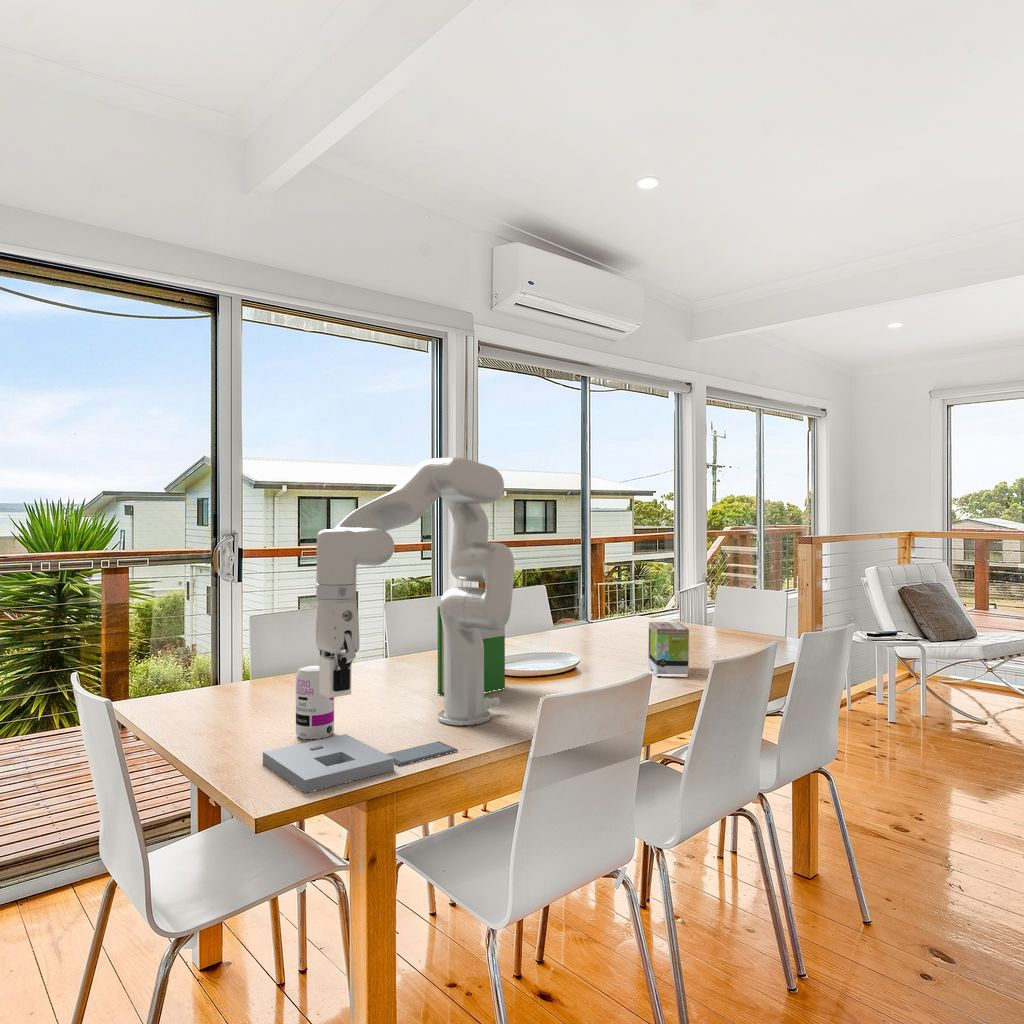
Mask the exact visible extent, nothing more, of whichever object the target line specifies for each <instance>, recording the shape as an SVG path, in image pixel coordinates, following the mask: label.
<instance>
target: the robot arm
mask: <svg viewBox="0 0 1024 1024" xmlns="http://www.w3.org/2000/svg"><path fill="white" fill-rule="evenodd" d="M504 489H505V481H504V477H503V476H502V474H501V473H500V471H499V470H498V469H497V468H495V467H493V466H490V465H487V464H484V463H481V462H477V461H475V460H471V459H468V458H463V457H458V456H456V457H453V456H452V457H437V458H436V457H435V458H434V457H433V458H429V459H424V460H423V461H421V462H419V463H418V464H417V465H416V466H415V467H414V468H413V469H412V470H411V471H410V472H409V473H408V474H407V475H405V476H404V478H403V479H402V480H401V481H400V482H399V483H397V485H395V487H393V488H392V490H390V491H389V492H387V493H385V494H383V495H381V496H379V497H377V498H376V499H373V500H371V501H369V502H368V503H366V504H364V505H362V506H360V507H359V508H357V509H355V510H353V511H352V512H351V513H350V514H348V515H346V516H345V518H344V519H343V520H341V521H340V522H339V523H338V524H337V525H336V527H335V528H331V529H329V528H328V529H322V530H320V531H319V532H318V533H317V536H316V582H315V583H316V586H315V588H316V590H315V591H316V593H315V594H316V598H315V601H316V602H317V611H316V620H315V622H316V624H315V644H316V647H317V648H318V651H319V655H320V657H325V656H333V655H334V658H335V668H336V670H333V690H334V691H336V692H337V691H343V690H349V689H350V669H351V670H352V663H353V661H354V659H355V658H356V657H357V656H356V655H357V654H356V653H358V652H359V650H360V623H359V621H360V620H359V612H358V605H357V565H358V566H359V565H360V566H381V565H382V564H385V563H387V562H388V561H389V560H390V559H391V558H392V556H393V554H394V552H395V542H394V540H393V537H392V536H391V535H390V533H389V532H387V531H391V530H394V529H399V528H402V527H403V528H404V527H406V526H408V525H411V524H414V523H416V522H418V520H419V519H421V517H422V516H423V515H424V514H425V513H426V512H427V511H428V510H429V509H430V508H431V507H432V506H433V504H434V503H435V502H436V501H437V500H438V499H439V498H441V499H442V500H443V502H444V503H445V505H446V506H447V507H448V509H449V511H450V514H451V517H452V521H453V531H452V532H453V533H452V543H451V551H450V552H451V554H450V573H451V574H452V576H453V577H454V578H455V579H457V580H460V581H464V582H471V583H472V582H474V583H485V588H484V587H474V586H455V587H451V588H449V589H447V590H446V591H445V592H444V593H442V596H441V598H440V601H439V606H440V615H441V620H442V625H443V632H444V695H443V696H444V697H443V699H444V702H443V703H444V704H443V705H444V707H443V708H444V709H442V710H441V711H440V712H439V713H437V720H438V721H439V722H441V723H443V724H445V725H450V726H459V727H460V726H461V727H462V726H463V725H466V726H475V724H476V725H480V724H484V723H486V722H488V721H489V720H490V719H491V712H490V711H489V710H488V709H490V708H491V707H496V706H499V705H500V704H501V700H500V698H499V697H493V698H489V697H485V694H484V644H483V640H482V637H481V635H480V633H479V631H478V629H477V628H479V629H489V630H498V629H501V628H503V627H504V626H505V627H506V625H507V623H508V622H509V619H510V615H511V612H512V611H511V610H512V604H513V603H512V601H513V592H514V591H513V590H514V581H515V560H514V554H513V552H512V550H511V548H509V546H507V545H505V544H503V543H501V542H489V541H488V540H489V528H490V527H489V519H488V517H487V514H486V512H485V510H484V508H483V507H482V505H481V504H484V505H485V504H494V503H496V502H497V501H498V500H499V499H500V498H501V497H502V495H503V493H504ZM343 650H344V651H345V652H342V651H343ZM340 656H345V657H342V659H341V661H340Z"/></svg>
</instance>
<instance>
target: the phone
mask: <svg viewBox="0 0 1024 1024" xmlns="http://www.w3.org/2000/svg"><path fill="white" fill-rule="evenodd" d="M454 751H459V749H458V748H455V747H453V746H451V745H448V744H446V743H443V742H442V741H439V740H438V741H434V742H430V743H426V744H422V745H418V746H414V747H410V748H405V749H402V750H396V751H393V752H389V753H386V754H387V755H389V756H391V757H393V758H394V763H395V764H397V765H398V766H397V765H396V766H397V767H401V766H400V765H403V766H405V765H404V764H407V765H410V764H409V763H411V762H415V763H417V762H416V761H419V760H423V759H427V758H431V757H434V758H436V757H435V756H438V755H442V754H446V753H450V752H454ZM454 753H455V752H454ZM450 754H451V753H450ZM446 755H447V754H446ZM442 756H443V755H442ZM438 757H439V756H438ZM431 759H432V758H431ZM427 760H428V759H427ZM423 761H424V760H423ZM419 762H420V761H419ZM395 764H394V765H395ZM411 764H412V763H411Z"/></svg>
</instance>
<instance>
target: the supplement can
mask: <svg viewBox="0 0 1024 1024" xmlns="http://www.w3.org/2000/svg"><path fill="white" fill-rule="evenodd" d="M334 731H335V697H332V698H329V697H326V696H324V695H322V694H319V664H311V665H310V664H309V665H308V664H307V665H302V666H300V667H299V668H298V671H297V672H296V674H295V734H296V736H297V737H298V738H299V737H300V738H299V739H301V738H302V739H301V740H305V739H311V740H310V741H313V740H312V739H317V740H320V739H321V738H323V739H325V737H326V738H329V737H330V736H331V735H332V734H333V733H334Z"/></svg>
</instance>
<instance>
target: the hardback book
mask: <svg viewBox="0 0 1024 1024" xmlns="http://www.w3.org/2000/svg"><path fill="white" fill-rule="evenodd" d="M505 628H506V625H505V626H504V627H503V628H501V629H498V630H489V629H479V628H477V629H478V631H479V633H480V635H481V637H482V640H483V644H484V692H489V691H493V690H498V689H503V688H505V689H506V685H505V684H506V670H505V669H506V653H505V652H506V639H505V637H506V635H505V634H506V631H505V630H506V629H505ZM438 694H444V632H443V625H442V620H441V615H440V605H439V606H437V695H438Z"/></svg>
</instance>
